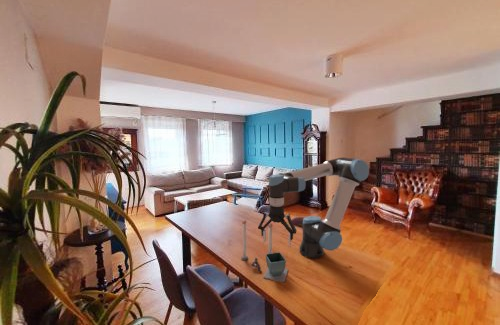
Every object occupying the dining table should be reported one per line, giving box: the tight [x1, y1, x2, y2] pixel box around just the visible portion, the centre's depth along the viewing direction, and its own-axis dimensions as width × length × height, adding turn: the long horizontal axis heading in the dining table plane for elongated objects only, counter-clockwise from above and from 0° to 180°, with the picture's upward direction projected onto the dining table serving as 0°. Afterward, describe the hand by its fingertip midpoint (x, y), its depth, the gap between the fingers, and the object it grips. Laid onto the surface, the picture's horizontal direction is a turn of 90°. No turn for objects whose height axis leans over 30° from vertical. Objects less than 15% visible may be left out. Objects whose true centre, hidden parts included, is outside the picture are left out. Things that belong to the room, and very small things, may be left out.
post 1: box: [240, 219, 249, 261], centre depth 130 cm, size 4×4×24 cm
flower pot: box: [265, 251, 287, 276], centre depth 115 cm, size 9×9×9 cm
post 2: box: [267, 223, 274, 254], centre depth 124 cm, size 4×4×24 cm
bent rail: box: [250, 257, 262, 272], centre depth 123 cm, size 8×5×3 cm, turn 160°
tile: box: [263, 267, 289, 283], centre depth 116 cm, size 11×11×1 cm
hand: (276, 243), depth 114 cm, fingers open, 13 cm apart
